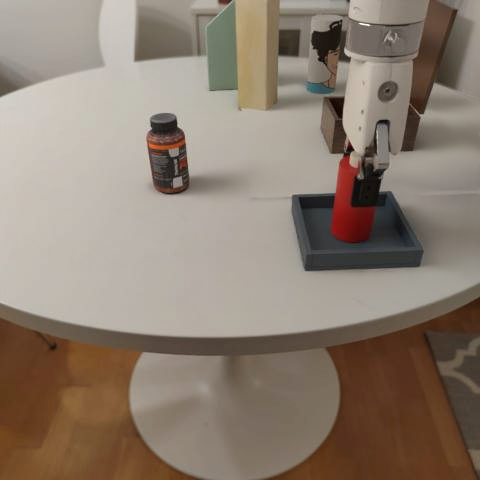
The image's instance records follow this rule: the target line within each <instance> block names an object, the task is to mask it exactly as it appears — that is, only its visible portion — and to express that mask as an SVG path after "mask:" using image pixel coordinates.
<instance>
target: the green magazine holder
mask: <svg viewBox="0 0 480 480" xmlns="http://www.w3.org/2000/svg"><path fill="white" fill-rule="evenodd" d="M235 12H236V9H235V0H231V1H230V2H229V3H228V4H227V5H226V6H225V7H224V8H222V10H221V11H220V12H219V13H218V14H217V15H215V17H214V18H213V19H212V20H210V21H209V22H207V24H206V25H205V27H204V30H205V31H204V32H205V35H204V36H205V37H204V38H205V49H206V50H205V51H206V65H207V80H208V81H207V82H208V91H210V90H213V91H227V90H228V89H229V90H238V70H237V42H236V16H235Z"/></svg>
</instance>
